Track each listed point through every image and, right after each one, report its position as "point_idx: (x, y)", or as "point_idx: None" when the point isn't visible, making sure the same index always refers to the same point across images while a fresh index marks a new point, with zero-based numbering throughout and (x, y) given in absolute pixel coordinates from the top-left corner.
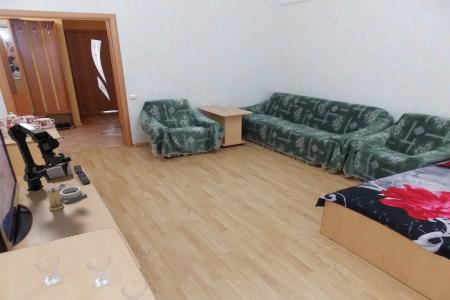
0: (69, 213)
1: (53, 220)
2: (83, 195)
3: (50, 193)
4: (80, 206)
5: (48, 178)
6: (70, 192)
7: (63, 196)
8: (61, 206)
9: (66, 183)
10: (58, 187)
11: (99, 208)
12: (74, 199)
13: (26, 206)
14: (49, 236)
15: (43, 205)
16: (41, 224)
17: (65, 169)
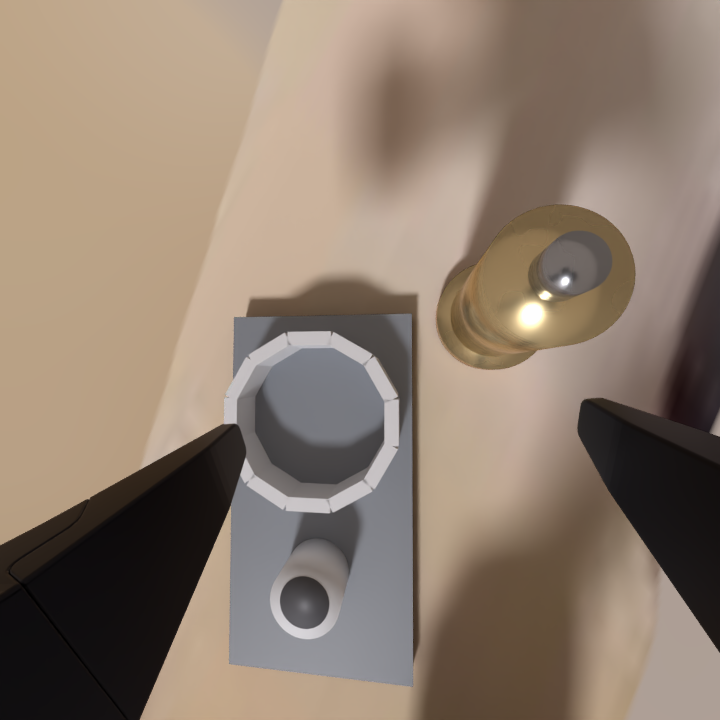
0: (461, 156)
1: (591, 140)
2: (261, 318)
3: (614, 241)
4: (356, 200)
5: (691, 430)
6: (304, 452)
7: (393, 387)
8: (468, 270)
9: (240, 662)
10: (325, 642)
11: (283, 72)
12: (339, 316)
13: None
14: None
15: (544, 440)
16: (681, 146)
17: (117, 512)
